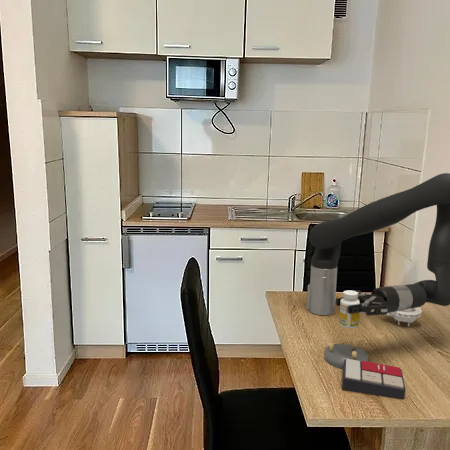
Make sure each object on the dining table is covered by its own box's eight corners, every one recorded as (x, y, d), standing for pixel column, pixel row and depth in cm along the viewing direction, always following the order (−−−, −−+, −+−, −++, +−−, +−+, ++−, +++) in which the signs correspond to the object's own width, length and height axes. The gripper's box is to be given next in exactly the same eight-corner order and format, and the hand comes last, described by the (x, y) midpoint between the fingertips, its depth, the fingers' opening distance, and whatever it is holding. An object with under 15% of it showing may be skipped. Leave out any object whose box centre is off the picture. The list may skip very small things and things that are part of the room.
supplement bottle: (359, 322, 136) (361, 290, 134) (358, 329, 131) (360, 296, 129) (340, 320, 137) (341, 288, 135) (338, 327, 132) (339, 294, 130)
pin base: (316, 358, 136) (317, 344, 135) (339, 346, 144) (340, 332, 144) (353, 374, 128) (354, 359, 127) (375, 360, 136) (376, 345, 135)
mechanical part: (415, 332, 155) (418, 298, 153) (379, 323, 162) (382, 290, 160) (424, 321, 164) (428, 289, 161) (390, 313, 171) (392, 282, 169)
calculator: (406, 387, 116) (343, 375, 119) (403, 403, 117) (341, 390, 120) (402, 366, 126) (344, 355, 130) (399, 380, 127) (342, 369, 131)
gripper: (377, 279, 143) (329, 285, 138) (410, 294, 130) (358, 302, 124) (375, 302, 145) (327, 309, 139) (407, 320, 132) (356, 328, 126)
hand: (342, 306), depth 132 cm, fingers closed on supplement bottle, 5 cm apart
